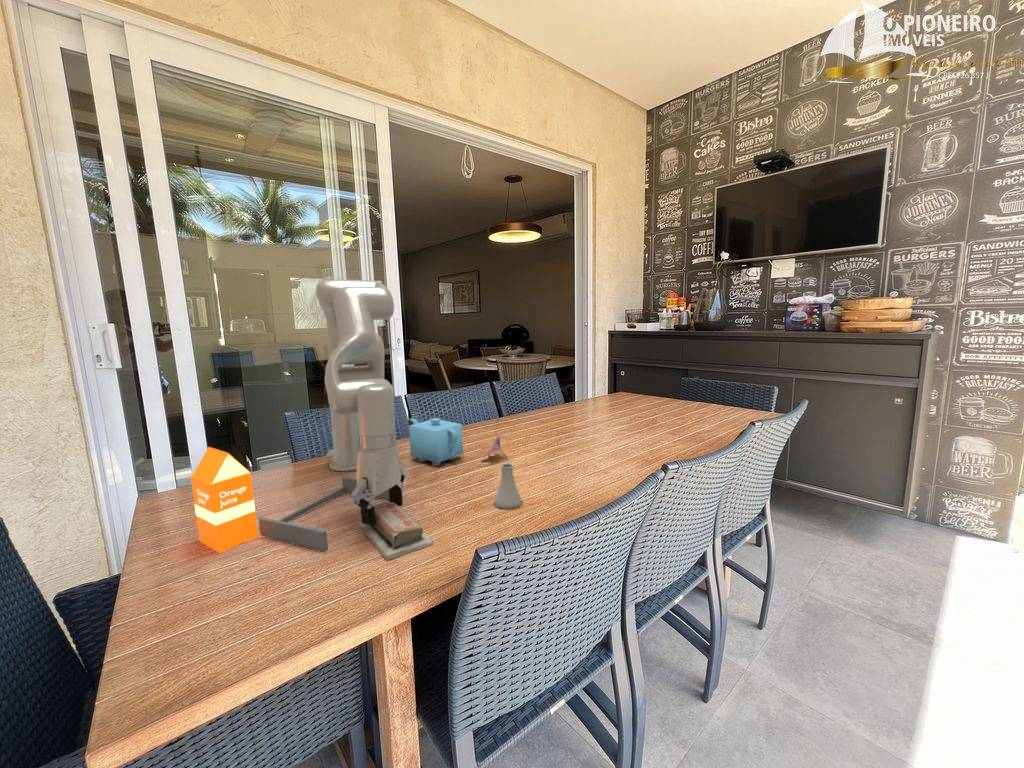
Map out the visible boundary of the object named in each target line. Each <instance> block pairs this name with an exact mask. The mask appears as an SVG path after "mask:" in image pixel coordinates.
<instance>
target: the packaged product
mask: <svg viewBox="0 0 1024 768" xmlns="http://www.w3.org/2000/svg"><path fill="white" fill-rule="evenodd" d="M372 507H374V508H375V521H376V523H375V525H368V524H363V523H362V519H361V520H360V521H359V522H358V524H359V527H360V529H361V530H362V531H363V532H364V534H365V536H366V537H367V538H368V539H369V541H370V542H371V544H372V545H373V546H374V547H375V549H376V550H377V551H378V553H380V554H381V556H382V557H383V558H384V559H385V560H386V561H390V560H393V559H396V558H400V557H402V556H405V555H408V554H411V553H413V552H416V551H419V550H421V549H424V548H428V547H430V546H433V545H434V544H433V543H434V540H432V539H431V538H430V537H429V536H428V535H427V534H426V533H424V528H423V527H421V525H420V524H418V523H417V522H416V521H415V520H414V519H413V518H412V517H410V515H408V514H407V513H406V512H405V511H404V510H403V509H402V508H401V506H398V505H397V504H396V503H394V502H390V501H386V502H383V503H378V504H375V505H372Z"/></svg>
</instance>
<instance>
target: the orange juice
mask: <svg viewBox="0 0 1024 768" xmlns="http://www.w3.org/2000/svg"><path fill="white" fill-rule="evenodd" d="M190 480H191V481H190V482H191V487H192V495H193V500H194V504H193V505H194V510H195V511H194V512H195V516H196V523H197V528H198V538H199V542H200V541H201V542H202V543H201V542H200V543H201V544H203V543H204V544H206V545H208V546H210V547H211V548H213V549H214V550H213V549H212V550H213V551H215V550H216V551H215V552H217V551H218V552H222V553H224V552H226V551H225V550H227V549H229V550H231V549H233V548H232V547H234V546H236V547H238V546H240V545H239V544H241V543H243V544H245V543H246V542H245V541H248V540H250V539H252V538H255V537H256V536H258V537H259V535H258V534H259V533H258V524H257V516H256V506H255V499H254V498H255V497H254V490H253V483H252V473H251V471H249V469H247V468H246V467H245V466H244V465H243V464H241V463H240V462H239V461H238V460H237V459H235V458H234V456H232V455H231V454H230V453H229V452H227V451H224V450H220V449H217V448H214V447H211V446H208V447H207V449H206V451H205V453H204V455H203V456H202V457H201V460H199V463H198V465H197V467H196V468H195V470H194V472H193V474H192V475H191V476H190ZM255 539H256V538H255ZM252 540H253V539H252ZM250 541H251V540H250ZM244 542H245V543H244ZM248 542H249V541H248ZM204 544H203V545H204ZM206 545H205V546H206ZM237 545H238V546H237ZM241 545H242V544H241ZM208 546H207V547H208ZM210 547H209V548H210ZM211 548H210V549H211ZM230 548H231V549H230ZM234 548H235V547H234ZM223 551H224V552H223ZM227 551H228V550H227ZM218 552H217V553H218Z"/></svg>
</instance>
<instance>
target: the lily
mask: <svg viewBox="0 0 1024 768" xmlns="http://www.w3.org/2000/svg"><path fill="white" fill-rule="evenodd" d="M504 434H505V432H502V434H501V433H500V434H498V436H497V437H496V438H495V440H494V442H493V443H492V442H490V443H489V445H491V446H492V447H491V448H490V450H488V451H487V452H486V453H485V454H484V456H483V457H482V458H481V460H480V462H482V460H483V459H484V458H485V456H487V457H489V455H490V454H491V453H496V452H501V453H502V454H503V456H504V458H506V460H507V461H509V459H508V457H507V456H506V454H505V452H503V450H502V449H501V439H502V437H503V435H504Z"/></svg>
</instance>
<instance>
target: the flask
mask: <svg viewBox="0 0 1024 768" xmlns="http://www.w3.org/2000/svg"><path fill="white" fill-rule="evenodd" d="M500 468H501V478H500V482H499V486H498V489H497V492H496V495H495V497H494V500H493V504H494V505H495V507H496V508H497V509H508V510H509V509H514V508H520V507H521V506H522V503H523V500H522V497H521V496H520V495H521V494H520V491H519V490H518V487H517V484H516V481H515V479H514V472H513V469H514V464H513V463H507V462H505V463H502V464H500Z"/></svg>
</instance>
